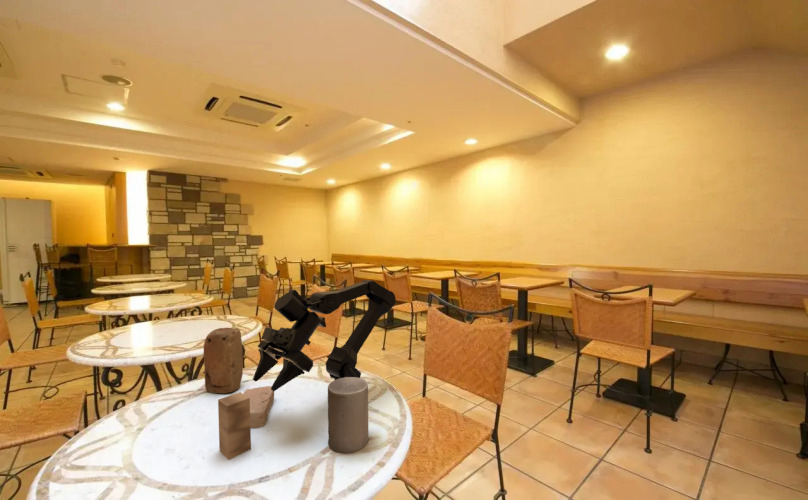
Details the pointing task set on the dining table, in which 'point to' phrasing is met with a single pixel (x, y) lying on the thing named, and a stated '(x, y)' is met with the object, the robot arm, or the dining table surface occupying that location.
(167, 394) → the dining table surface
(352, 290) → the robot arm
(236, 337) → the block
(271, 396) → the brick
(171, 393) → the dining table surface
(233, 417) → the walnut block
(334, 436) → the pillar candle
